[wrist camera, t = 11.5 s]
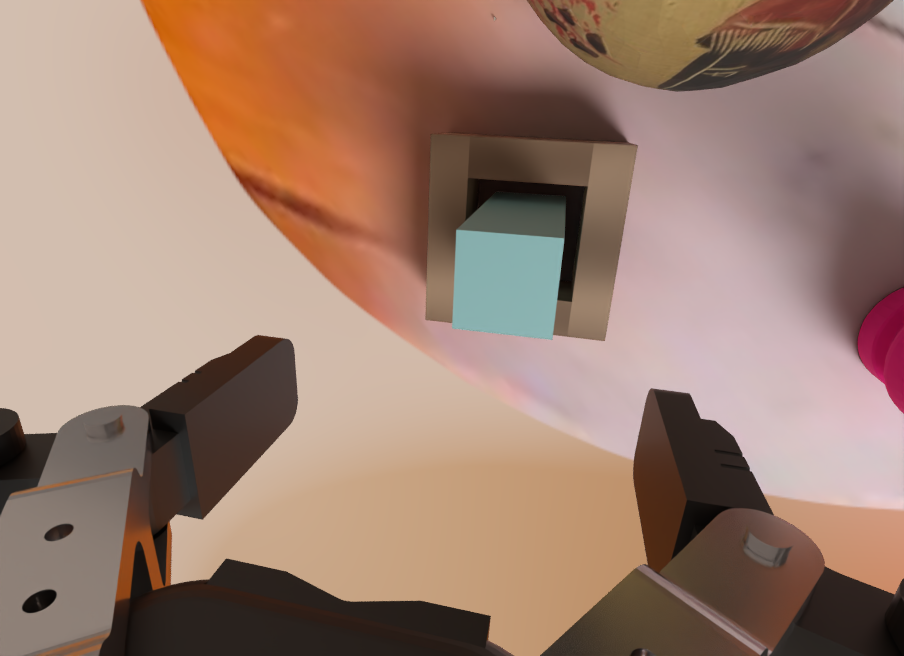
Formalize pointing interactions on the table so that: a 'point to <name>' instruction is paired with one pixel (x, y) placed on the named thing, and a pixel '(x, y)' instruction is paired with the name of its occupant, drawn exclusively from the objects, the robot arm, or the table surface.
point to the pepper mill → (885, 344)
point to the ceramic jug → (700, 36)
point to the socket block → (538, 162)
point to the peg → (510, 265)
